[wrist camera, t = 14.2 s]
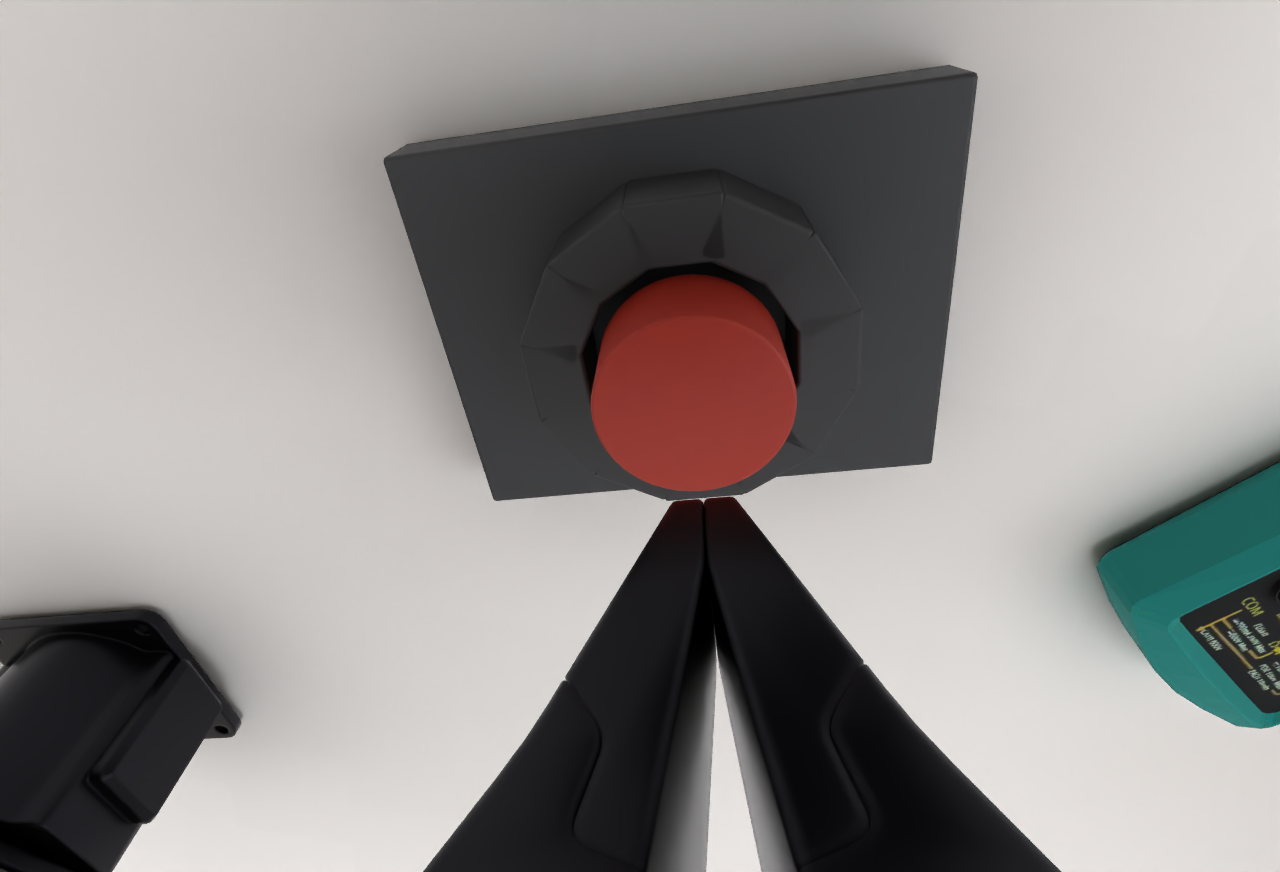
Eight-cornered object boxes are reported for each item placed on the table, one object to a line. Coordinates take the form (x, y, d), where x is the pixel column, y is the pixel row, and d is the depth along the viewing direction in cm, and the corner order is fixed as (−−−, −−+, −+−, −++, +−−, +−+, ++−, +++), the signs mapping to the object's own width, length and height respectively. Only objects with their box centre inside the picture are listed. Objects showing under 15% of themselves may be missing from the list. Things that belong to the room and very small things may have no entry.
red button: (615, 443, 15) (608, 500, 13) (585, 284, 13) (572, 329, 11) (784, 427, 14) (798, 484, 13) (779, 261, 12) (796, 304, 11)
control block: (504, 470, 19) (476, 550, 16) (404, 144, 14) (342, 180, 11) (915, 433, 18) (958, 513, 15) (952, 63, 13) (1025, 83, 10)
